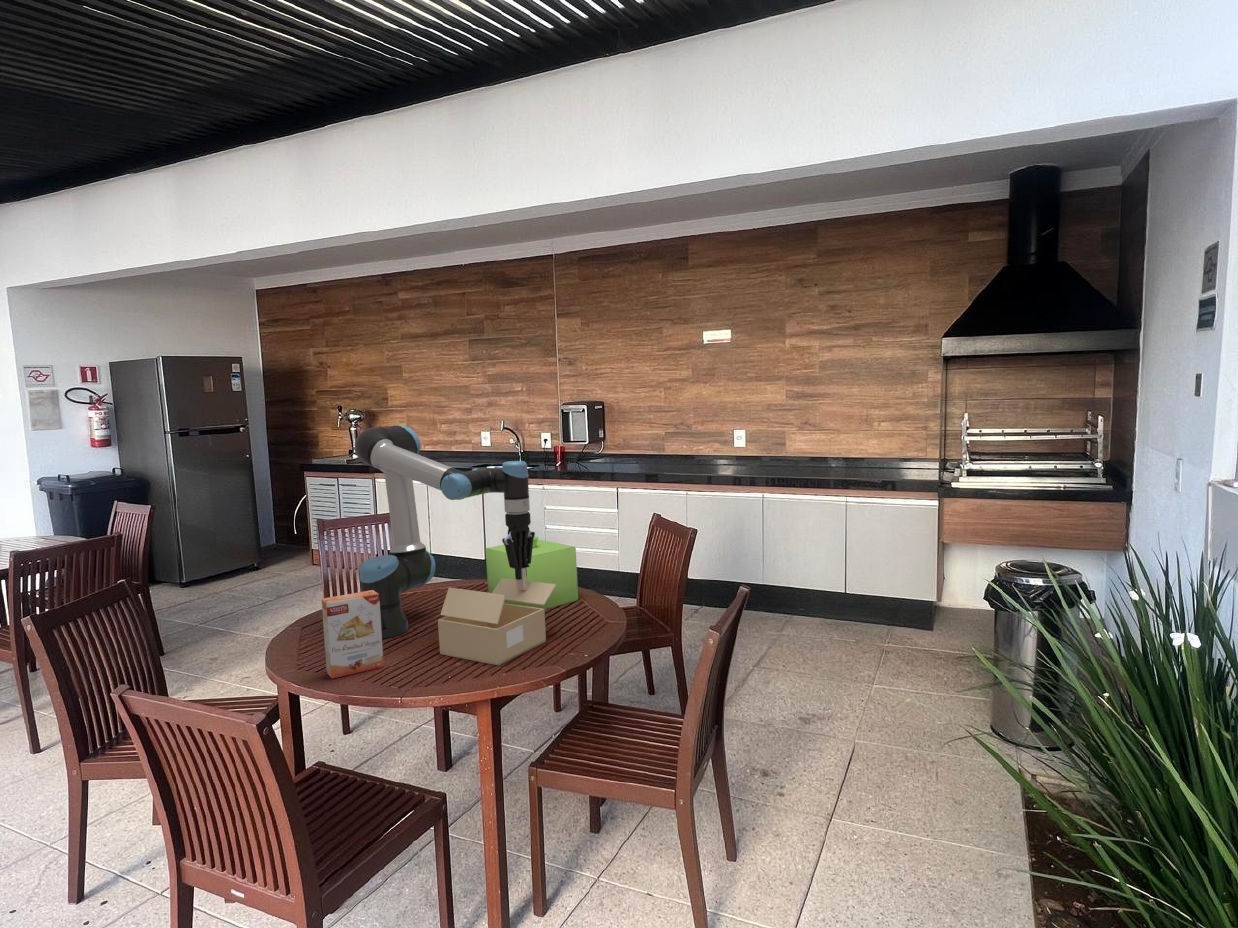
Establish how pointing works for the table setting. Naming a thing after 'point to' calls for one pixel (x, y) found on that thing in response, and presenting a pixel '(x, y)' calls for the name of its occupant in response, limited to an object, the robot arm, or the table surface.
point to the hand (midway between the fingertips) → (521, 588)
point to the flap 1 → (473, 605)
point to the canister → (539, 570)
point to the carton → (493, 635)
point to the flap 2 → (525, 591)
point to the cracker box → (352, 633)
